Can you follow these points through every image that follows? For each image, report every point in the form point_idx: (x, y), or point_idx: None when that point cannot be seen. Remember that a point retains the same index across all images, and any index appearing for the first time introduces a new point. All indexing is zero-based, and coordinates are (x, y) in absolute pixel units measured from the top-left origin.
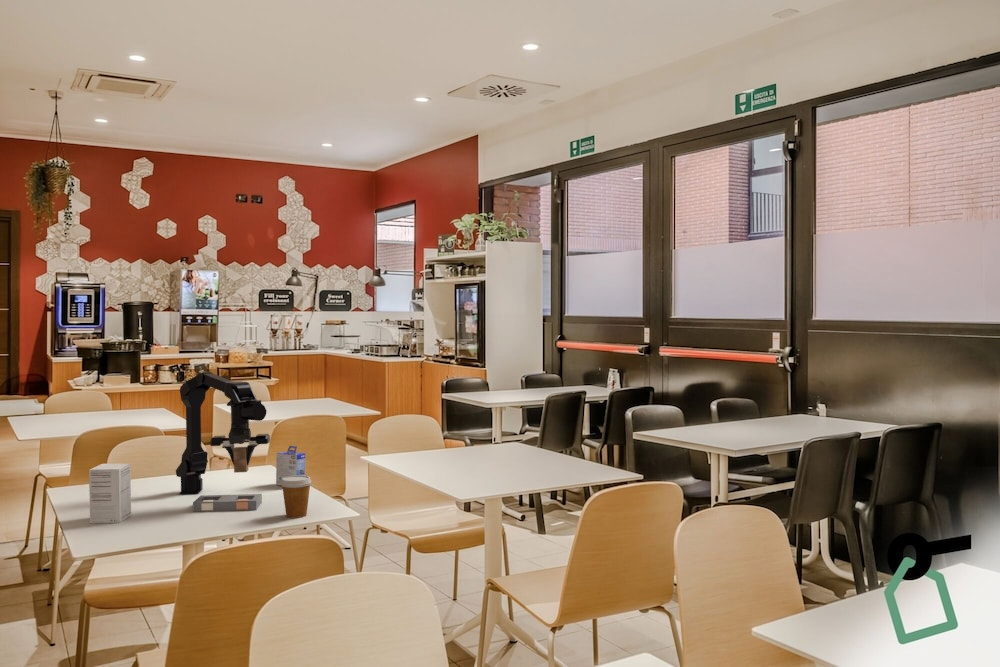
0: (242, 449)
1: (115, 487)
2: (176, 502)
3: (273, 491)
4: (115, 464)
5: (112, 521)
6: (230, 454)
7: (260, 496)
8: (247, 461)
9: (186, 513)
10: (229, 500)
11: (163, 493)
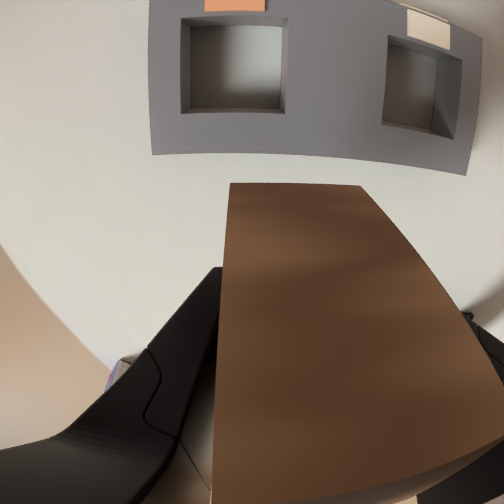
0: (320, 469)
1: None
2: (499, 216)
3: None
4: None
5: None
6: (493, 345)
7: (151, 112)
8: (215, 288)
9: (470, 23)
10: (319, 8)
11: (493, 322)
